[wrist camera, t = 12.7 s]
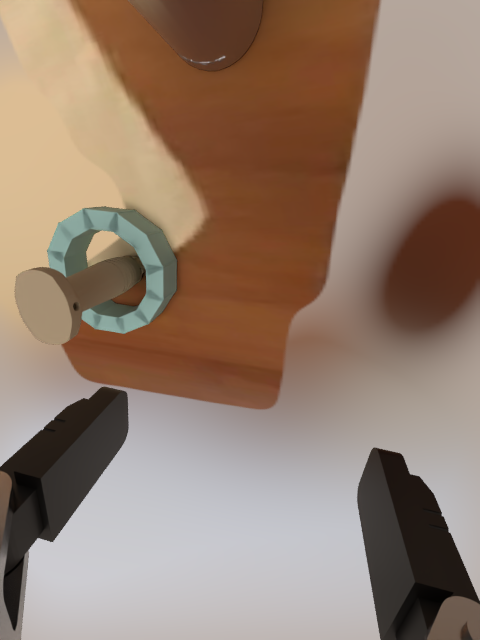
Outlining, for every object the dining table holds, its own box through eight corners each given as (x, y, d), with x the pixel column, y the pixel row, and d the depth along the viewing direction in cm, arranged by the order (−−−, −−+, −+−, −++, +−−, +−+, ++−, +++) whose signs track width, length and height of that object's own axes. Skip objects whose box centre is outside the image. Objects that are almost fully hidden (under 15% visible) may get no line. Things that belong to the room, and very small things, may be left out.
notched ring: (65, 201, 38) (39, 202, 34) (177, 214, 36) (163, 217, 32) (78, 311, 43) (57, 322, 40) (176, 327, 41) (163, 341, 38)
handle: (121, 292, 41) (29, 343, 27) (112, 241, 38) (5, 269, 25) (156, 293, 40) (78, 346, 26) (148, 241, 37) (59, 270, 24)
